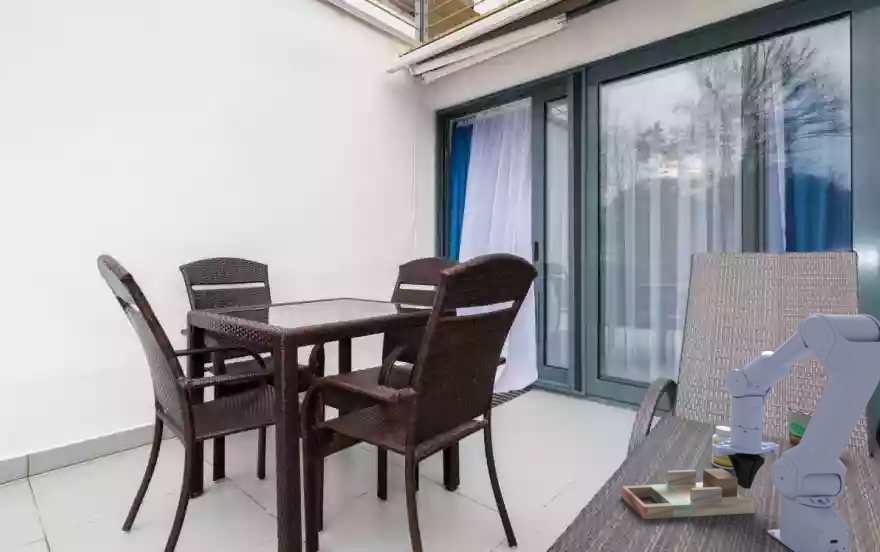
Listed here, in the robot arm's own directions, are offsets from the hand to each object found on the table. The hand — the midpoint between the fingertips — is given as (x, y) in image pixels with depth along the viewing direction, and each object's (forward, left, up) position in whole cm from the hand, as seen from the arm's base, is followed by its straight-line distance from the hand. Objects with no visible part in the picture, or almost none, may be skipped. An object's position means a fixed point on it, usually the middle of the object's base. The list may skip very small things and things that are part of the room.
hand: (744, 486), depth 98 cm
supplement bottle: (+17, -9, -4) cm, 20 cm away
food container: (+26, -42, -4) cm, 50 cm away
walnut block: (0, +6, -1) cm, 6 cm away
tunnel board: (0, +14, -3) cm, 14 cm away
